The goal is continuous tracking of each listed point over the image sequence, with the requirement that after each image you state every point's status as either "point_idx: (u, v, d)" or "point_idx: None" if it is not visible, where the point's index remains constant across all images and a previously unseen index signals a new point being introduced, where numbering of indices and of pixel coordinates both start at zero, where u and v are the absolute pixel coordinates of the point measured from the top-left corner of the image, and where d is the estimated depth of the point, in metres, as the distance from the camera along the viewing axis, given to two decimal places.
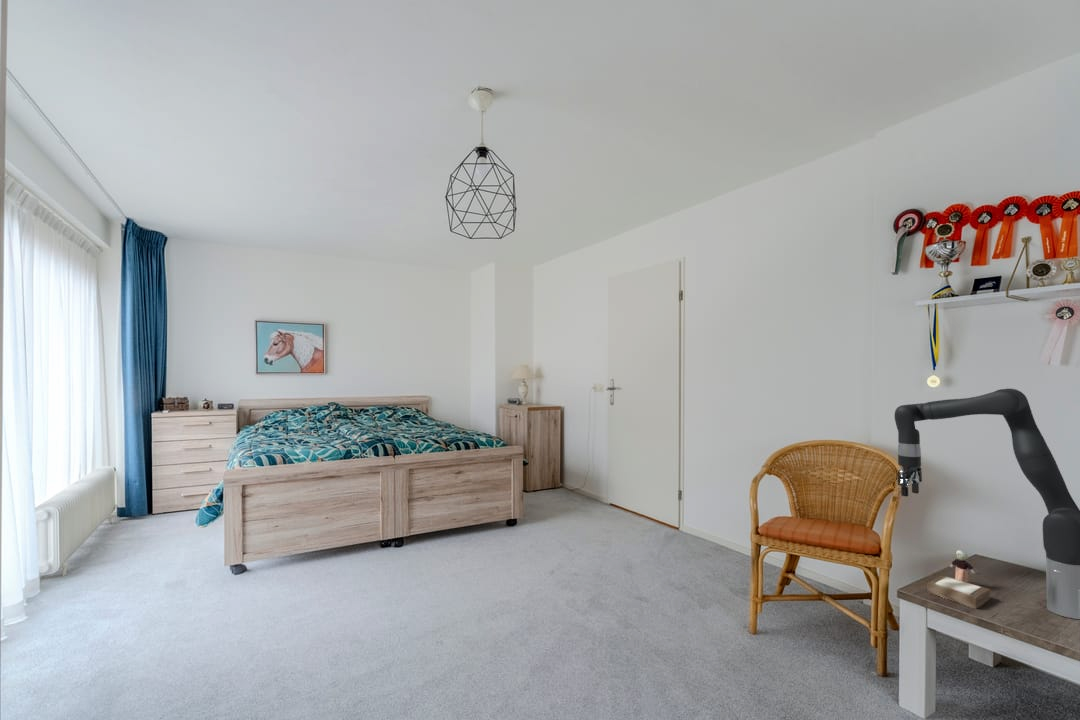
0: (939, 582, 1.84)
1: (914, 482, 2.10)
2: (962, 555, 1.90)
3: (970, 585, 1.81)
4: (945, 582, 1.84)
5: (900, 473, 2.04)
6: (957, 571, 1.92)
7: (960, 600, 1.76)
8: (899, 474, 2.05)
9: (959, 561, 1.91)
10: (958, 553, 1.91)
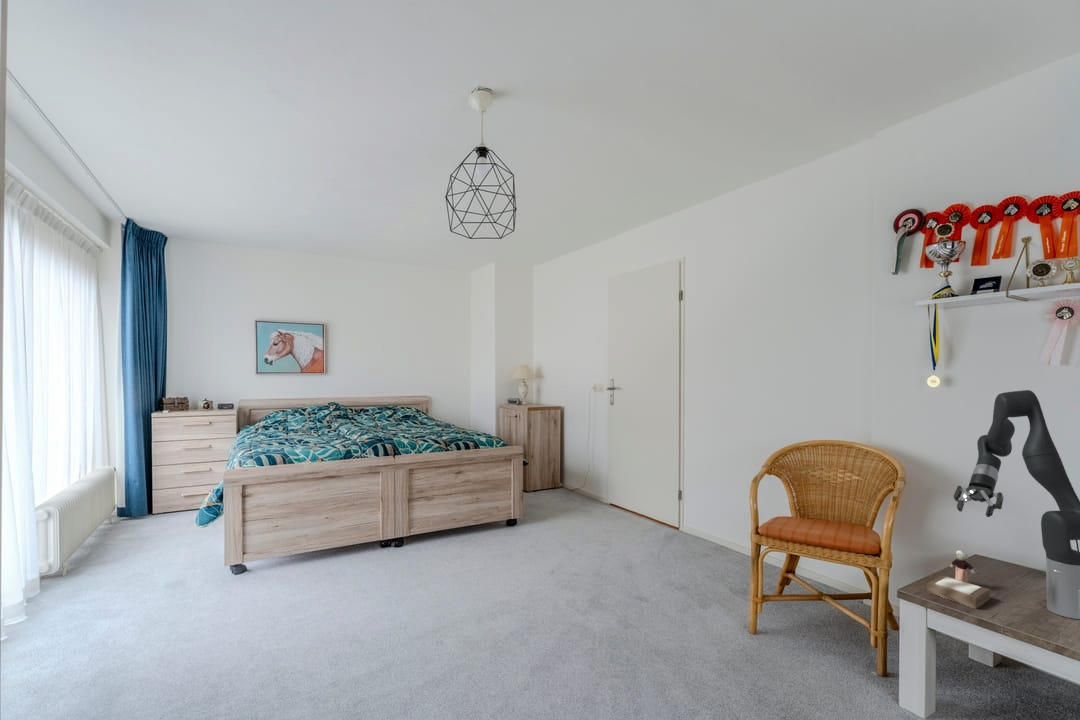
0: (939, 582, 1.84)
1: None
2: (962, 555, 1.90)
3: (970, 585, 1.81)
4: (945, 582, 1.84)
5: None
6: (957, 571, 1.92)
7: (960, 600, 1.76)
8: None
9: (959, 561, 1.91)
10: (958, 553, 1.91)
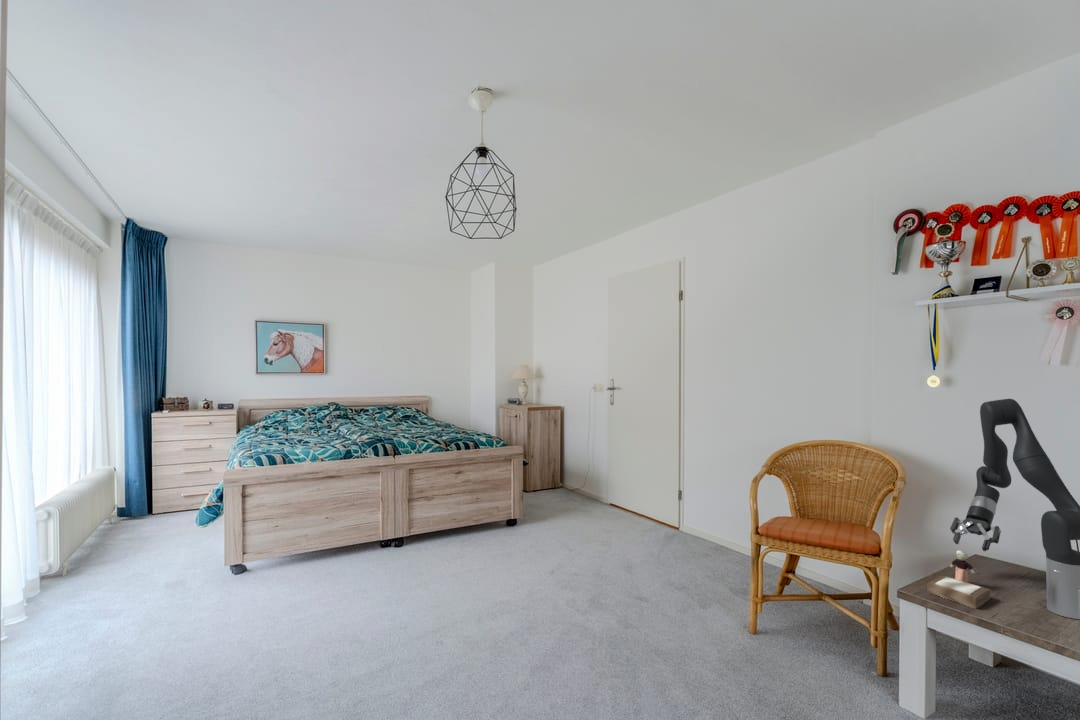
0: (939, 582, 1.84)
1: None
2: (962, 555, 1.90)
3: (970, 585, 1.81)
4: (945, 582, 1.84)
5: None
6: (957, 571, 1.92)
7: (960, 600, 1.76)
8: None
9: (959, 561, 1.91)
10: (958, 553, 1.91)
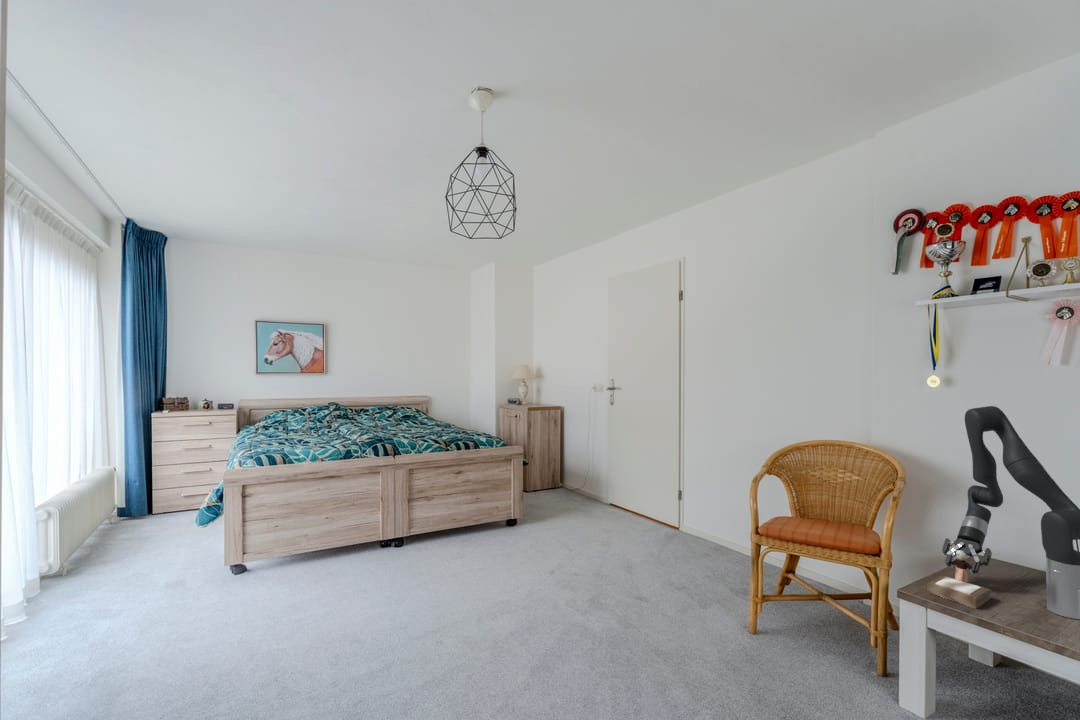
0: (939, 582, 1.84)
1: None
2: (962, 555, 1.90)
3: (970, 585, 1.81)
4: (945, 582, 1.84)
5: None
6: (957, 571, 1.92)
7: (960, 600, 1.76)
8: None
9: (959, 561, 1.91)
10: (958, 553, 1.91)
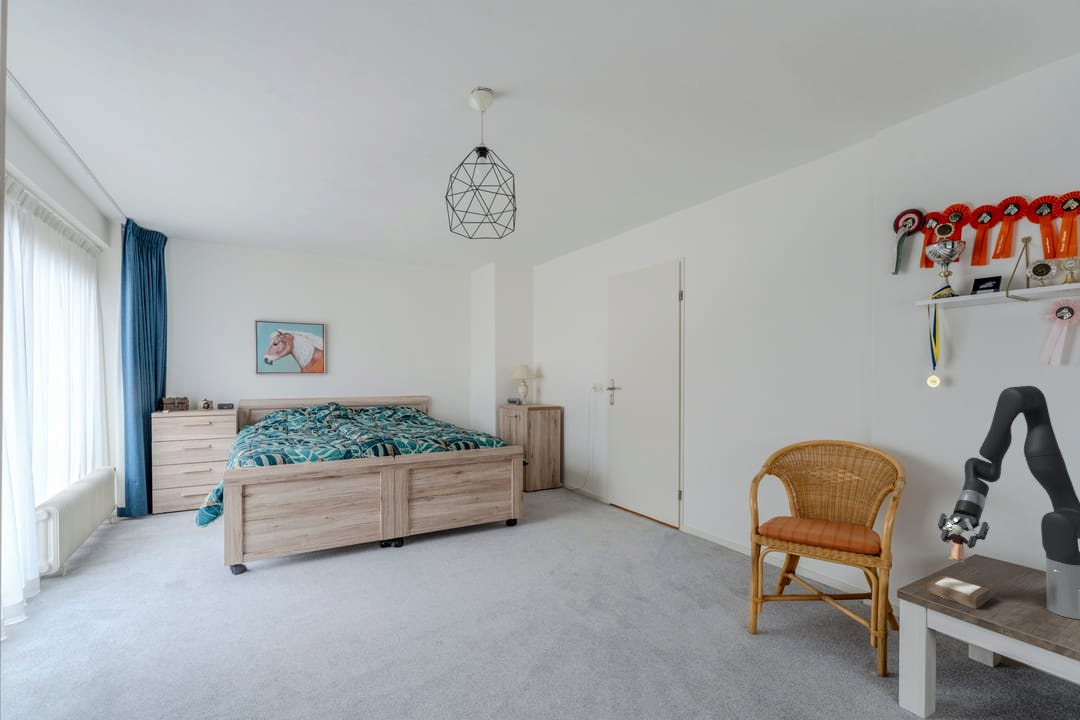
0: (939, 582, 1.84)
1: None
2: (957, 529, 1.83)
3: (970, 585, 1.81)
4: (945, 582, 1.84)
5: None
6: (953, 546, 1.85)
7: (960, 600, 1.76)
8: None
9: (955, 536, 1.84)
10: (953, 527, 1.84)
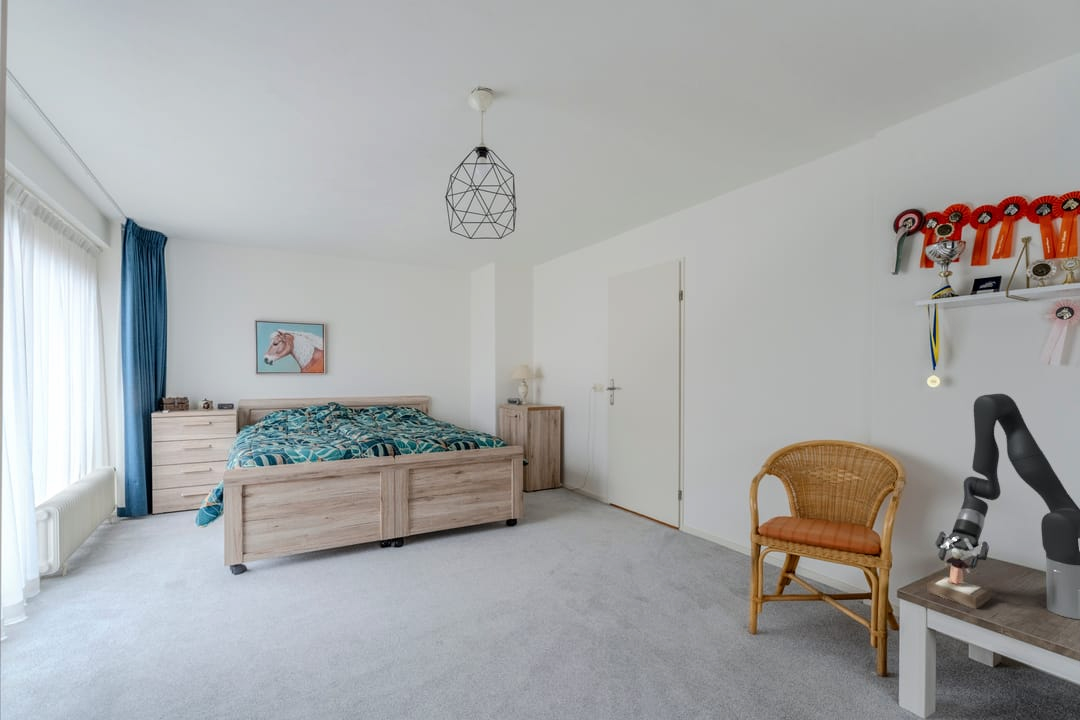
0: (939, 582, 1.84)
1: None
2: (957, 553, 1.81)
3: (970, 585, 1.81)
4: (945, 582, 1.84)
5: None
6: (952, 570, 1.83)
7: (960, 600, 1.76)
8: None
9: (954, 559, 1.82)
10: (953, 551, 1.82)
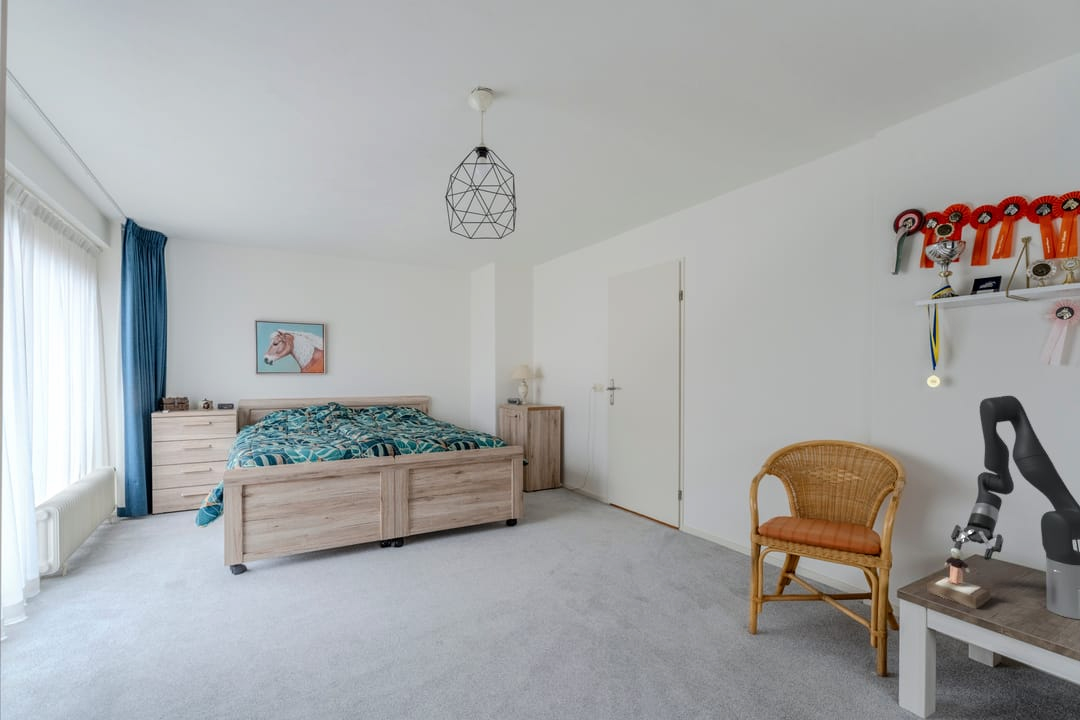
0: (939, 582, 1.84)
1: None
2: (957, 553, 1.81)
3: (970, 585, 1.81)
4: (945, 582, 1.84)
5: None
6: (952, 570, 1.83)
7: (960, 600, 1.76)
8: None
9: (954, 559, 1.82)
10: (952, 551, 1.82)
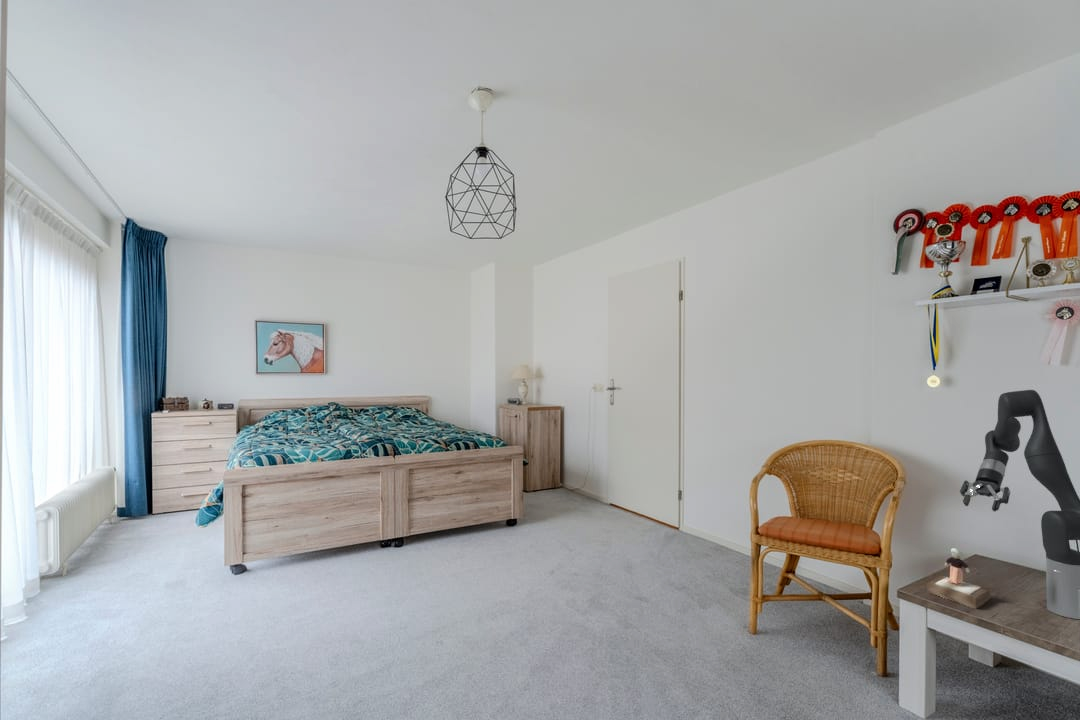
0: (939, 582, 1.84)
1: None
2: (957, 553, 1.81)
3: (970, 585, 1.81)
4: (945, 582, 1.84)
5: None
6: (952, 570, 1.83)
7: (960, 600, 1.76)
8: None
9: (954, 559, 1.82)
10: (952, 551, 1.82)
